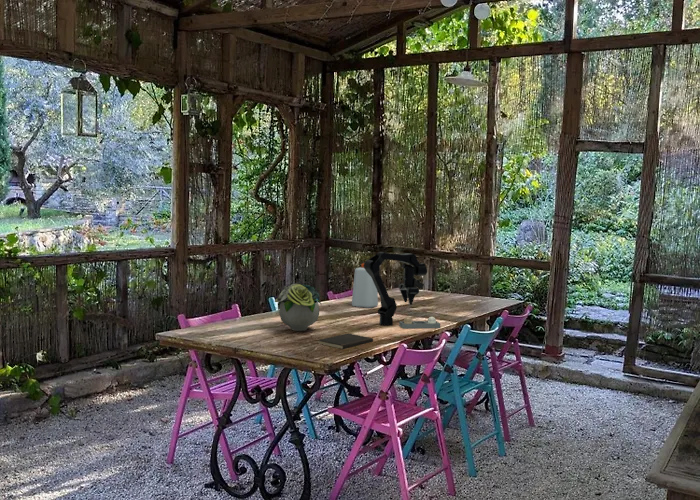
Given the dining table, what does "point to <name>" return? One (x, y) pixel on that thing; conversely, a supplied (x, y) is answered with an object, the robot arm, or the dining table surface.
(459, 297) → the dining table surface
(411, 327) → the grey long rectangular tray
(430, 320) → the cream egg
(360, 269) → the plastic bottle
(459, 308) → the dining table surface
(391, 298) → the robot arm
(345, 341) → the hardcover book
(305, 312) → the flower arrangement
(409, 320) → the brown egg
